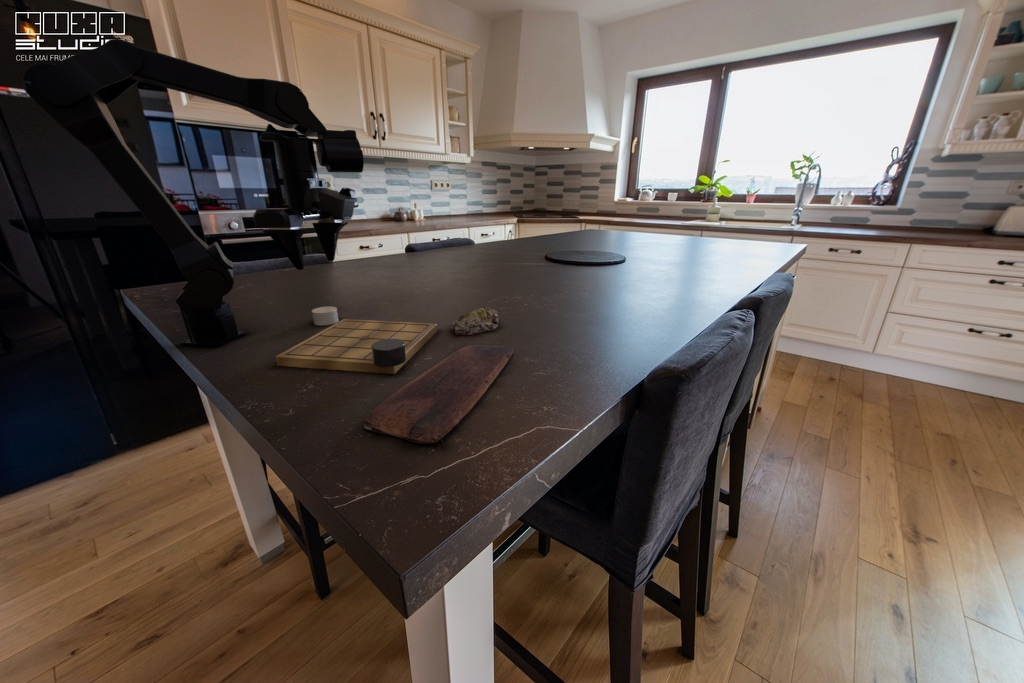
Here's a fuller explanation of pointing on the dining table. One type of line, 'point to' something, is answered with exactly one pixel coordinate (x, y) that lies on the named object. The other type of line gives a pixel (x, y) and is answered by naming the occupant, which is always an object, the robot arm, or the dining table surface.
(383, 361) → the black stone
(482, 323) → the mineral rock
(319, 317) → the cream stone
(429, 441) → the wooden tablet
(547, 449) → the dining table surface
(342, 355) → the game board
